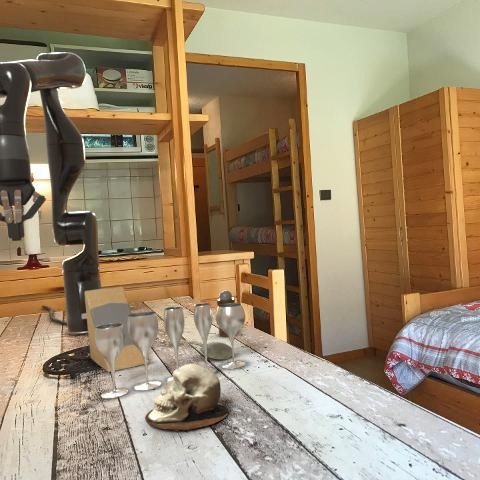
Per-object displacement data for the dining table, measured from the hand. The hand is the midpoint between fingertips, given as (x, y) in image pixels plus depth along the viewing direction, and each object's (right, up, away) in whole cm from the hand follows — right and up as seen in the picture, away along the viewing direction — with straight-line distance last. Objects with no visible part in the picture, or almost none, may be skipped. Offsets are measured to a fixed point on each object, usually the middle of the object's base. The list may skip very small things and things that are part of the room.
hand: (16, 240), depth 110 cm
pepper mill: (+42, -24, +19) cm, 52 cm away
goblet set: (+39, -26, -14) cm, 49 cm away
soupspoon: (+38, -25, +5) cm, 45 cm away
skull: (+45, -27, -33) cm, 62 cm away
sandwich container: (+22, -26, +1) cm, 34 cm away
